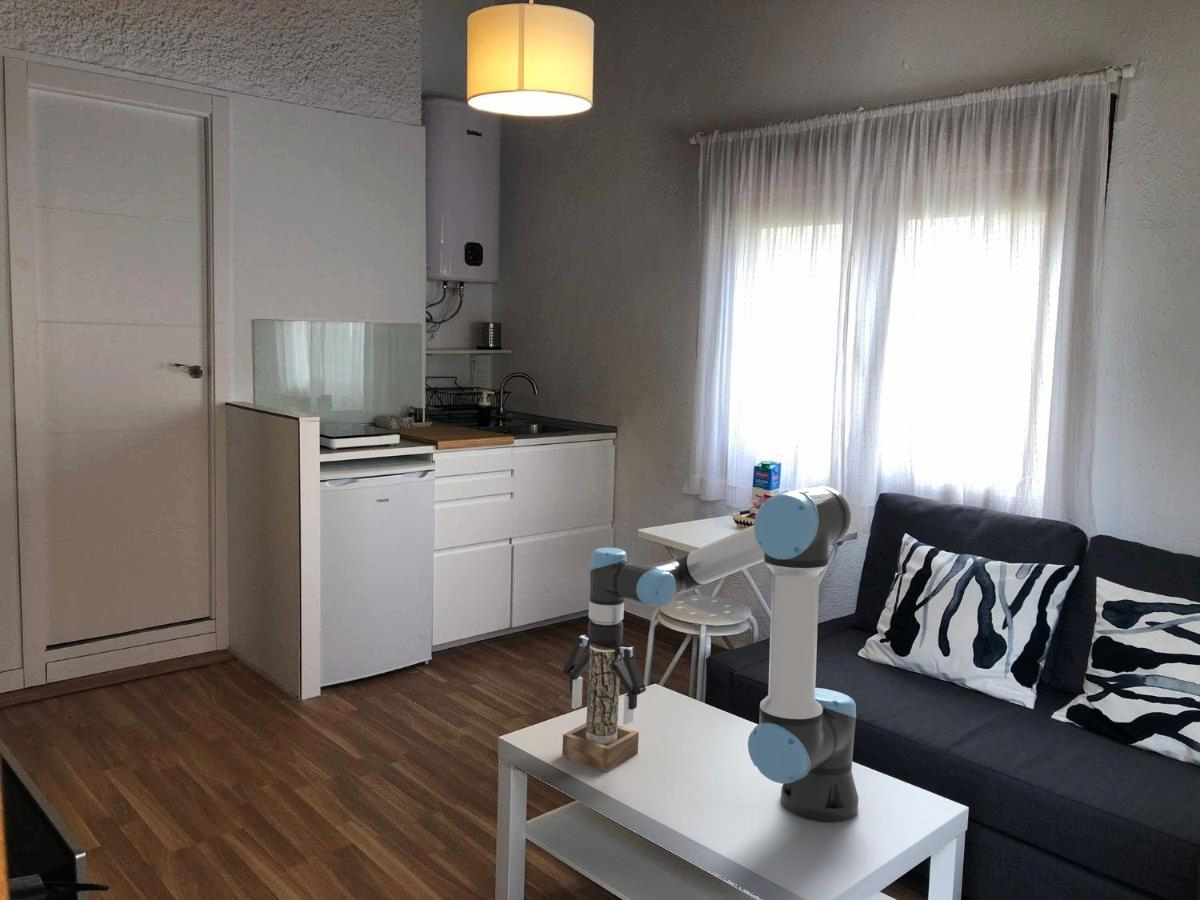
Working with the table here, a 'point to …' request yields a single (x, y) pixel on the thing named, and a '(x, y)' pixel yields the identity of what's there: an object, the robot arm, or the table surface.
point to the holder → (600, 748)
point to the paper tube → (602, 696)
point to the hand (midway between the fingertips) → (601, 714)
